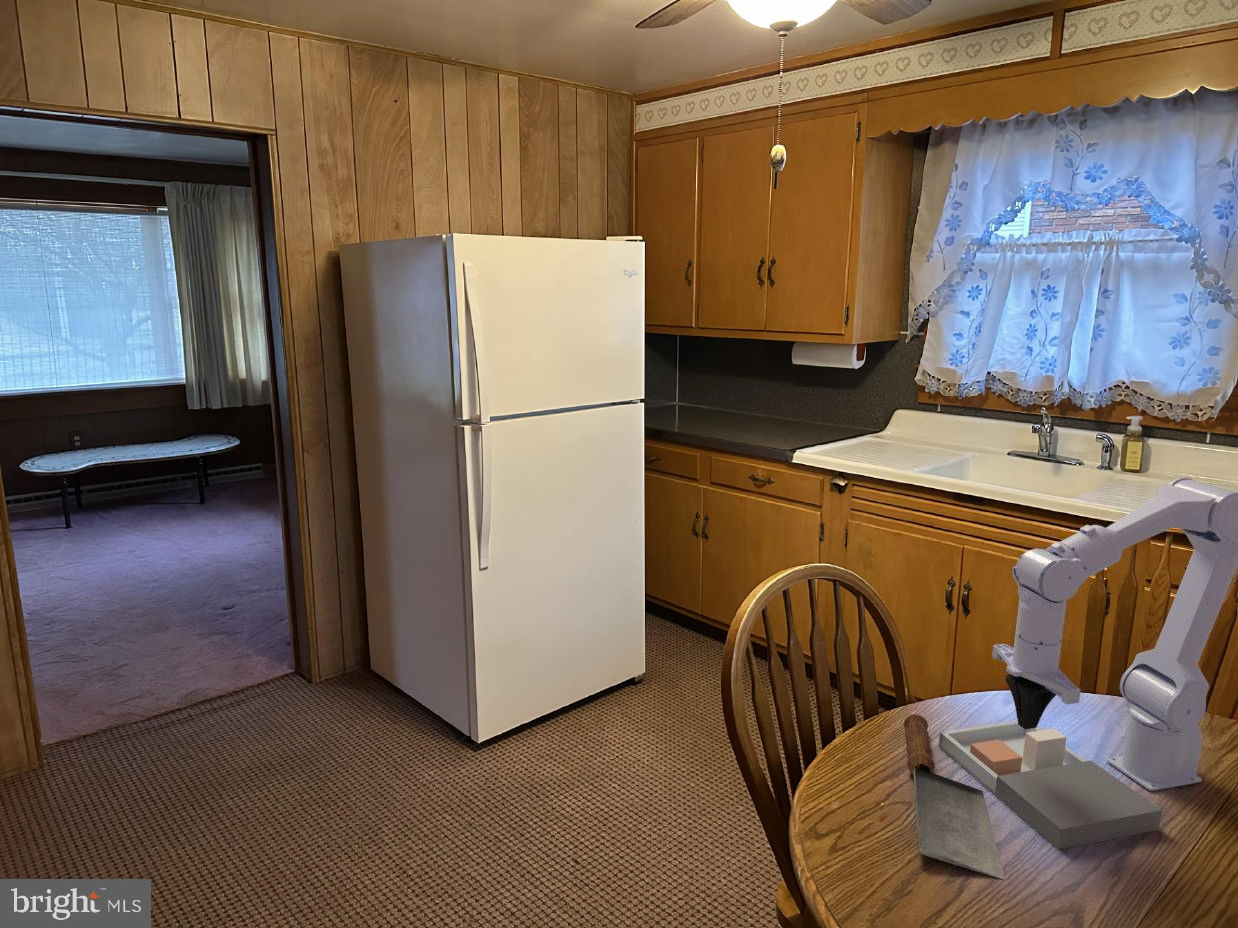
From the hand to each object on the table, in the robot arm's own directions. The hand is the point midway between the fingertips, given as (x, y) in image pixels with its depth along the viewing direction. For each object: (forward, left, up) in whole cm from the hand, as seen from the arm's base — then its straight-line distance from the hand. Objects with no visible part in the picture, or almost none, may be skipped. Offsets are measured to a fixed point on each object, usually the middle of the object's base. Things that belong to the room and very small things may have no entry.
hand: (1027, 726), depth 119 cm
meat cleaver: (+11, -1, -10) cm, 15 cm away
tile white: (-7, -2, -7) cm, 10 cm away
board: (-3, +6, -10) cm, 12 cm away
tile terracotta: (0, -5, -7) cm, 9 cm away
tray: (-3, -6, -10) cm, 12 cm away
